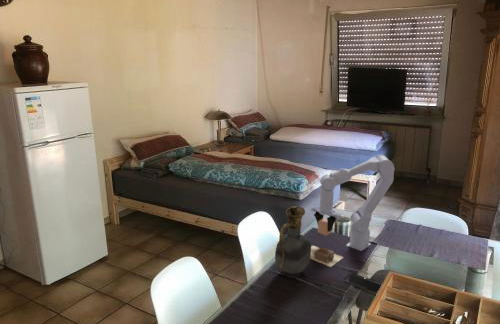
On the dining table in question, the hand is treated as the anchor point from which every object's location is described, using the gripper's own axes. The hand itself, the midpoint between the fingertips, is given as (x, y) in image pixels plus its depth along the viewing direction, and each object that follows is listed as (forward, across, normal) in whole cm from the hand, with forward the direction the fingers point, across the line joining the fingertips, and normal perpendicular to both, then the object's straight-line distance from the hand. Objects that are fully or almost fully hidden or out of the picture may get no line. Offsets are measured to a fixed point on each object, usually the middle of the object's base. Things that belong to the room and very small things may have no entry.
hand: (324, 229), depth 186 cm
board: (+8, +5, -10) cm, 14 cm away
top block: (+2, 0, 0) cm, 2 cm away
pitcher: (+8, +4, -31) cm, 32 cm away
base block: (+8, +7, -11) cm, 15 cm away
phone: (+9, +29, -17) cm, 35 cm away
